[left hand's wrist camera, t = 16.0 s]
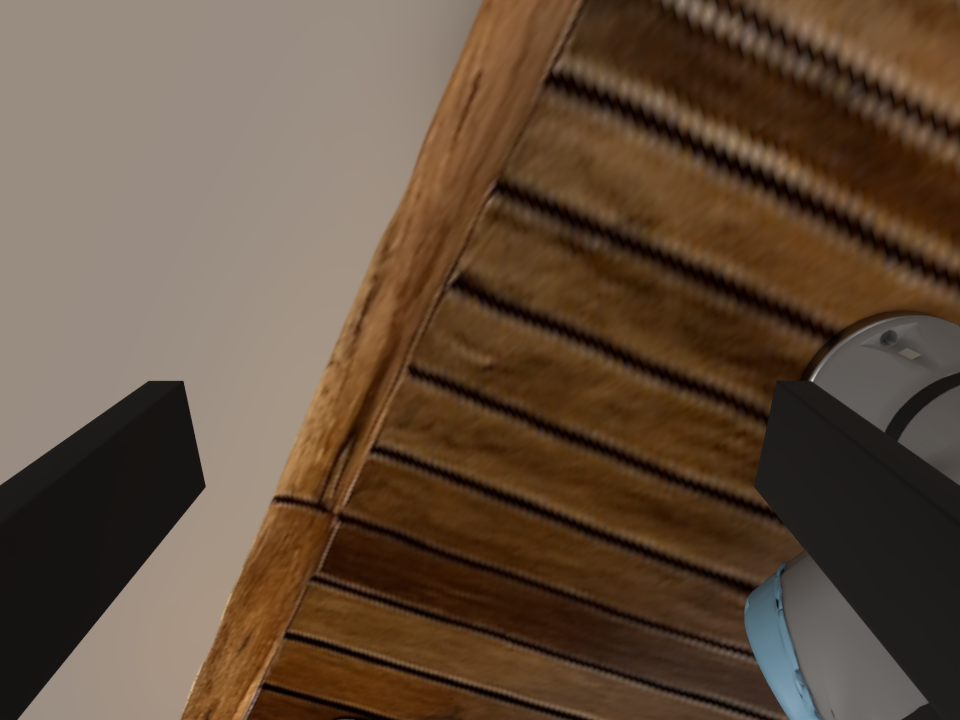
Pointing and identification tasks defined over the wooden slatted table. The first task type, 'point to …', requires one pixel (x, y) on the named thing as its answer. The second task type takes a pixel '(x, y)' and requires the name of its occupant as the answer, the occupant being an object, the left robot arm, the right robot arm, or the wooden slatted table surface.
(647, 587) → the wooden slatted table surface
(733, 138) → the wooden slatted table surface
